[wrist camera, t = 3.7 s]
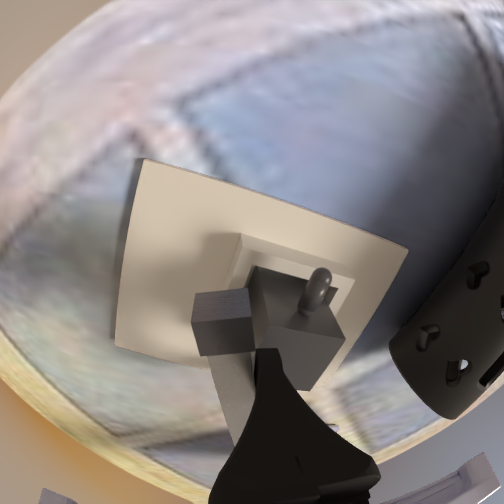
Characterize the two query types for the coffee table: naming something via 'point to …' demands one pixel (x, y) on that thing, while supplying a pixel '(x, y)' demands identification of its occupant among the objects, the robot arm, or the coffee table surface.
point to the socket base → (235, 259)
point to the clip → (227, 350)
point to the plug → (295, 322)
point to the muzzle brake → (459, 325)
